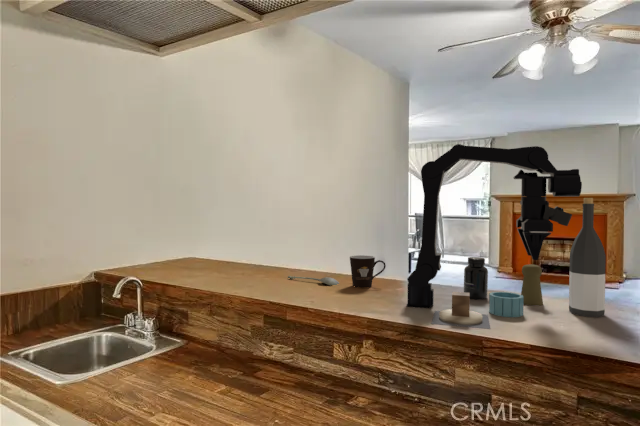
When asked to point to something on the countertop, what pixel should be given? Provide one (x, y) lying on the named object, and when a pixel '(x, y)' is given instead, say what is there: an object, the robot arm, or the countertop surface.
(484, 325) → the rubber mat
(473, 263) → the supplement bottle
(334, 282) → the soupspoon
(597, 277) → the wine bottle
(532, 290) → the cork
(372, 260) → the coffee mug
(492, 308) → the ceramic bowl
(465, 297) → the wooden lid
